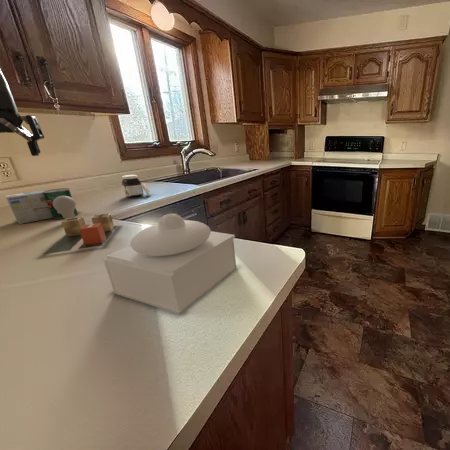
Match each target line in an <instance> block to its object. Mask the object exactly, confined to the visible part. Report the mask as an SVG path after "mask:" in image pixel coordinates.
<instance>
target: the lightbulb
mask: <svg viewBox="0 0 450 450" xmlns="http://www.w3.org/2000/svg"><path fill="white" fill-rule="evenodd" d="M72 198H73V197H72ZM72 198H71V197H69V196H59V197H57V198H55V199H54V201H53V206H54V208H55V209H56V210H57V211H59V212H60V213H61V214H62V216H63V218H62V219H64V220H65V219H67V218H74V217H76V215H74V209H75V207H76V206H77V203H76V200H75V199H74V198H73V199H72Z"/></svg>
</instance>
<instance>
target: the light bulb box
mask: <svg viewBox="0 0 450 450" xmlns="http://www.w3.org/2000/svg"><path fill="white" fill-rule="evenodd" d="M43 191H44V190H37V191H30V192H21V193H20V192H19V193H14V194H9V195H8V194H5V198H6V201H7V203H8V204H7V205H8V206H9V208H10V210H11V212H12V214H13V216H14V217H15V220H16V223H17V224H18V225H23V224H27V223H33V222H37V221H42V220H48V219H54V218H53V216H52V214H51V211H50V209H49V206H48V204H47V201H46V199H45V196H44V193H43Z"/></svg>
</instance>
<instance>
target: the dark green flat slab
mask: <svg viewBox="0 0 450 450" xmlns="http://www.w3.org/2000/svg"><path fill="white" fill-rule="evenodd" d="M117 228H118V225H114V228H113V229H112V230H111V231H106V232H104V233H105V236H106V238H105V240H104V241H103V242H102V243H97V244H90V245H84V242H83V243H82V244H81V245H79V247H78V248H77V250H80V249H88V248H95V247H100V246H104V245H105V244H106V242H107V241H108V240H109V238H110V237H111V235H112V234H113V233H114V232H115V230H116V229H117ZM81 240H83V239H82V236H81V235H76V236H68V237H67V236H66V235H64V236H63V237H62V238H60V239H59V241H57V242H56V243H55V244H53V245H52V246H51V247H50V248H48V249H47V250H46V251H45V252H44V253H43V255H46V254H47V255H48V254H54V253H61V252H67V251H71V250H72V249H73V248H75V246H76V245H77V244H78V243H79V242H80V241H81Z"/></svg>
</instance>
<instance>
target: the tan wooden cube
mask: <svg viewBox="0 0 450 450" xmlns="http://www.w3.org/2000/svg"><path fill="white" fill-rule="evenodd" d="M61 224H62V227H63V231H64V233H65V236H67V237H68V236H76V235H81V233H80V230H79V229H80V228H81V227H83V226H84V225H87V224H86V222H85V219H84V216H75V217H74V218H67V219H64V220H62V221H61Z"/></svg>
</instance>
